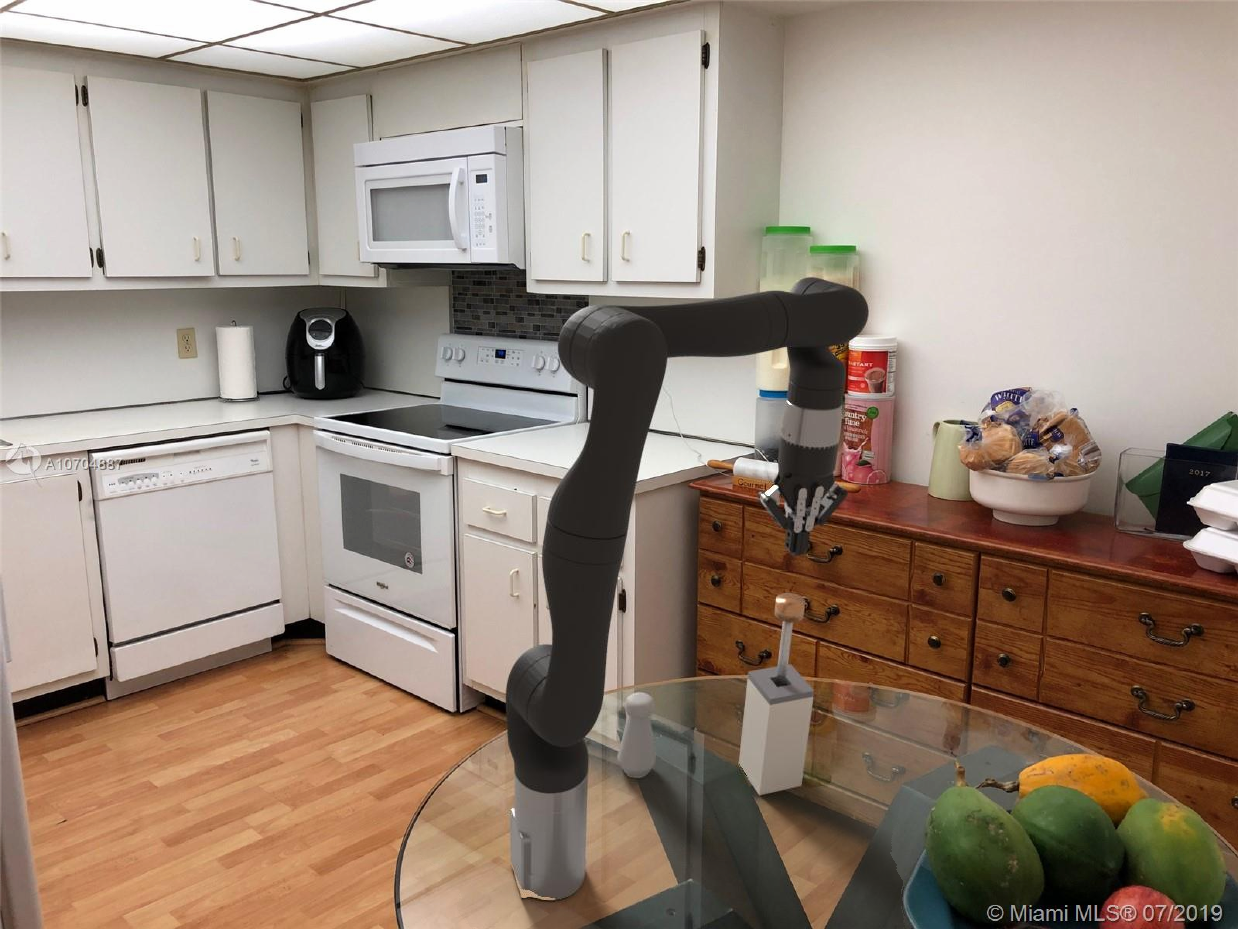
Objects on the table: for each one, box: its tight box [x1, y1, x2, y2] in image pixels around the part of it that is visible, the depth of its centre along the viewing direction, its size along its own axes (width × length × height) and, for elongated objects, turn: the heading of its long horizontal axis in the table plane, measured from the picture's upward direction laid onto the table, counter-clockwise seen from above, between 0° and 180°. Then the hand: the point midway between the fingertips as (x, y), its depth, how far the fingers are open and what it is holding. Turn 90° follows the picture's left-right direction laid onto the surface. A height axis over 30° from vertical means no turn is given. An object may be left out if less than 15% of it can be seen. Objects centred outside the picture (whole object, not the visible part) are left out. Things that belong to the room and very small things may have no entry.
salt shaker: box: [617, 692, 657, 777], centre depth 145 cm, size 6×6×13 cm
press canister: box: [738, 663, 815, 796], centre depth 144 cm, size 7×7×17 cm
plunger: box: [774, 592, 806, 687], centre depth 139 cm, size 4×4×17 cm
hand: (795, 553), depth 133 cm, fingers closed
